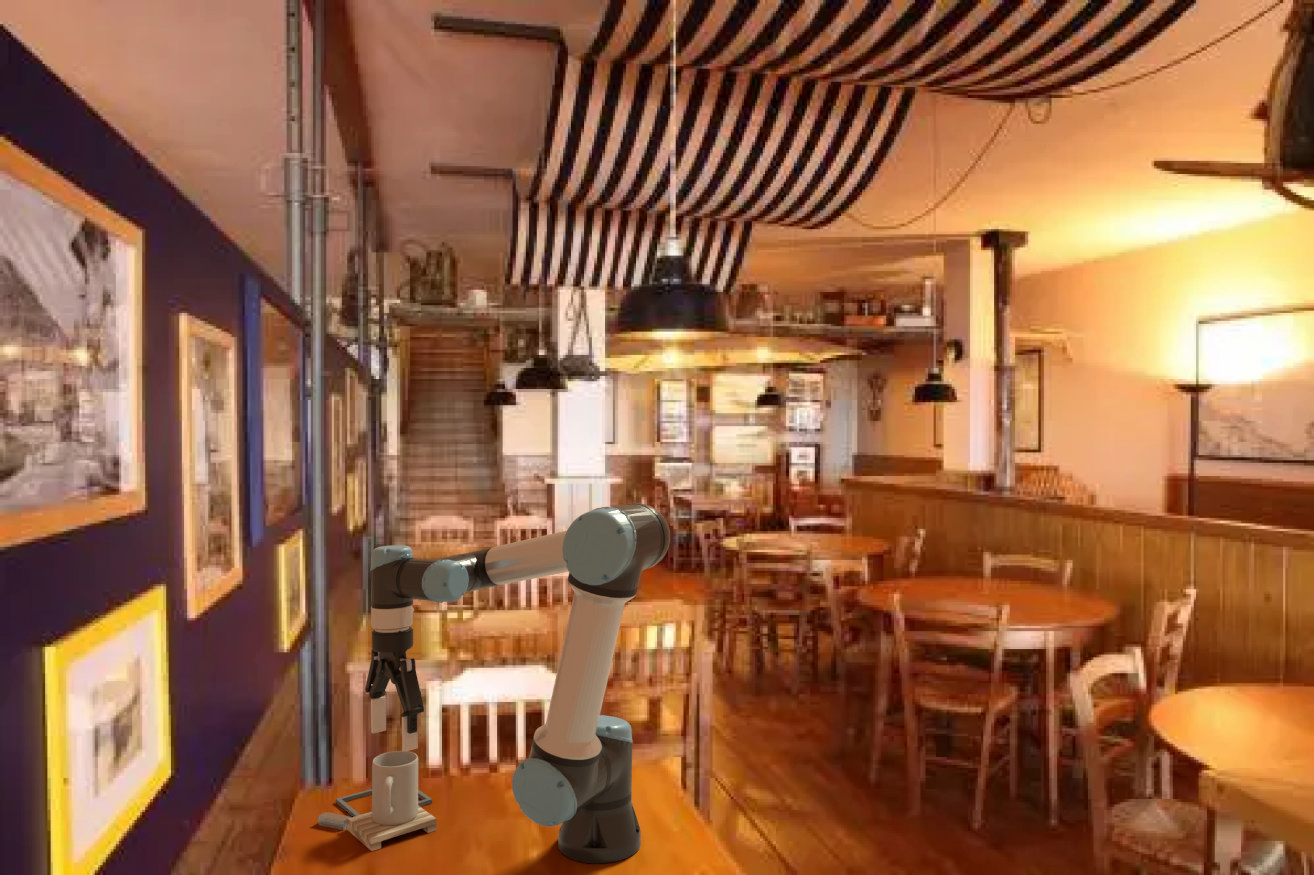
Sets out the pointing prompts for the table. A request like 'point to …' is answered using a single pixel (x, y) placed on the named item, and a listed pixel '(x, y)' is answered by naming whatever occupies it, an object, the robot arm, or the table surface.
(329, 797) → the table surface
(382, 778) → the mug
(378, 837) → the rack
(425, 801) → the socket frame
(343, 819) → the grey rectangular bar
